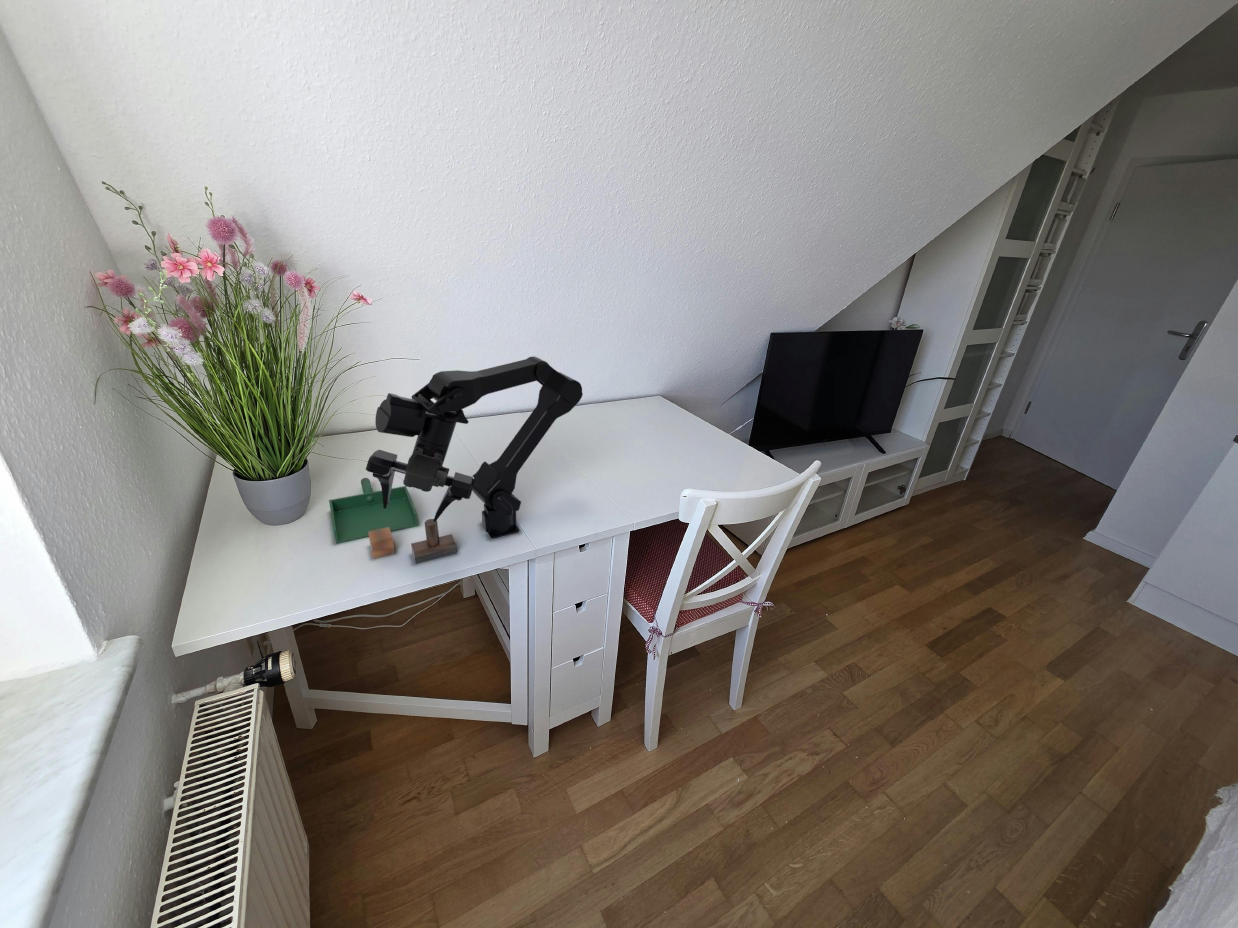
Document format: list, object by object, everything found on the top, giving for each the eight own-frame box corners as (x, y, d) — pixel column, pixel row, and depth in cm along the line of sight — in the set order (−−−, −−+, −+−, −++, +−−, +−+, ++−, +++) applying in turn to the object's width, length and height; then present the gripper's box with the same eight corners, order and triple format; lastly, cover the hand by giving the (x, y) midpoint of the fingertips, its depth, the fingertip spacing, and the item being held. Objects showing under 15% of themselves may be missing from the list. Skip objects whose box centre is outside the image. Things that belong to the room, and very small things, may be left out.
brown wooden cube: (391, 542, 106) (389, 526, 104) (395, 553, 103) (392, 537, 101) (370, 547, 104) (367, 531, 103) (373, 558, 102) (370, 542, 100)
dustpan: (418, 525, 112) (416, 513, 111) (336, 543, 105) (333, 530, 103) (401, 480, 128) (399, 468, 127) (329, 492, 121) (326, 480, 119)
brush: (452, 545, 107) (449, 513, 103) (456, 553, 105) (453, 521, 101) (412, 555, 103) (407, 522, 100) (415, 563, 101) (410, 531, 97)
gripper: (370, 434, 84) (345, 518, 87) (481, 468, 90) (455, 545, 93) (385, 420, 95) (362, 495, 98) (484, 450, 100) (460, 521, 103)
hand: (410, 514), depth 98 cm, fingers open, 9 cm apart
